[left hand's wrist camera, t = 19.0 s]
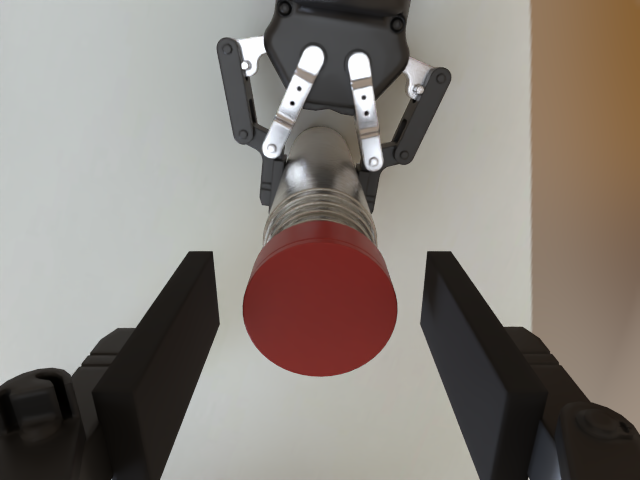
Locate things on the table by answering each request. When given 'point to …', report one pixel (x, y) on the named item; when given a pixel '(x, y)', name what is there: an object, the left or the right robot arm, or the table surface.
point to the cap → (320, 300)
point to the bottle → (320, 186)
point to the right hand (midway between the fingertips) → (314, 215)
